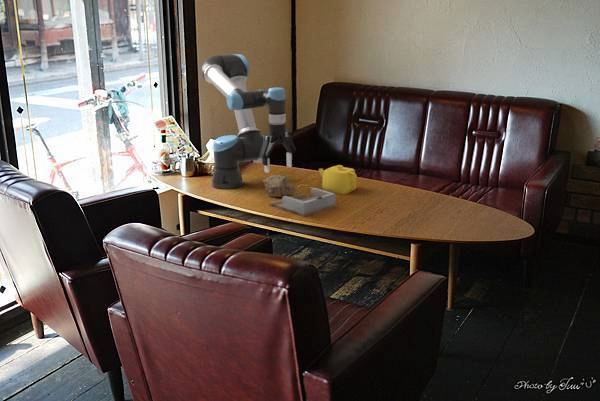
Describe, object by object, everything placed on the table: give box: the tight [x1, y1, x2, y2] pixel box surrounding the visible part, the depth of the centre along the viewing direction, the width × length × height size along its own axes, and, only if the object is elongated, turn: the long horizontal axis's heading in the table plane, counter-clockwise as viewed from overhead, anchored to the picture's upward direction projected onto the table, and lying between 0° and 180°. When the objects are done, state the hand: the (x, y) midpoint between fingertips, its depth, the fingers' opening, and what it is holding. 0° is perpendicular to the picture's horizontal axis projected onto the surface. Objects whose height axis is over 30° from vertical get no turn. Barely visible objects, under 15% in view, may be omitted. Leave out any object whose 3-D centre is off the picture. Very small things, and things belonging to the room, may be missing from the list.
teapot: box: [318, 164, 358, 195], centre depth 302 cm, size 20×12×12 cm, turn 57°
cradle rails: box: [282, 187, 336, 214], centre depth 276 cm, size 14×19×5 cm
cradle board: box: [268, 193, 336, 218], centre depth 280 cm, size 22×19×1 cm
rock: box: [263, 174, 297, 199], centre depth 294 cm, size 11×12×10 cm
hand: (278, 169), depth 292 cm, fingers open, 13 cm apart
